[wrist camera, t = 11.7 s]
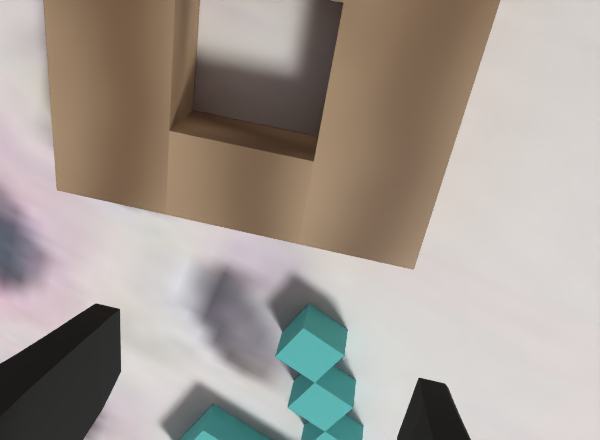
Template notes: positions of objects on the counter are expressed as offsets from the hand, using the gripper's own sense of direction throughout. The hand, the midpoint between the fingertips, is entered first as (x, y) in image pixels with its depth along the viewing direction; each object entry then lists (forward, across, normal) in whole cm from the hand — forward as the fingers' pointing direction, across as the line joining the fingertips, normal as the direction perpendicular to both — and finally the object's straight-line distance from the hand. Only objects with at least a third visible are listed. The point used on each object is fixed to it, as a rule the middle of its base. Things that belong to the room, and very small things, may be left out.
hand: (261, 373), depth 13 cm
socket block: (+10, +3, -5) cm, 12 cm away
